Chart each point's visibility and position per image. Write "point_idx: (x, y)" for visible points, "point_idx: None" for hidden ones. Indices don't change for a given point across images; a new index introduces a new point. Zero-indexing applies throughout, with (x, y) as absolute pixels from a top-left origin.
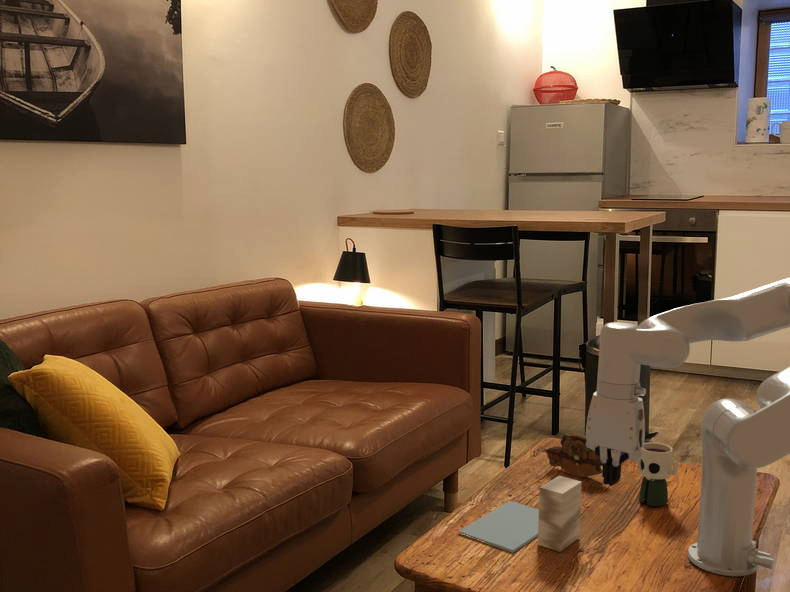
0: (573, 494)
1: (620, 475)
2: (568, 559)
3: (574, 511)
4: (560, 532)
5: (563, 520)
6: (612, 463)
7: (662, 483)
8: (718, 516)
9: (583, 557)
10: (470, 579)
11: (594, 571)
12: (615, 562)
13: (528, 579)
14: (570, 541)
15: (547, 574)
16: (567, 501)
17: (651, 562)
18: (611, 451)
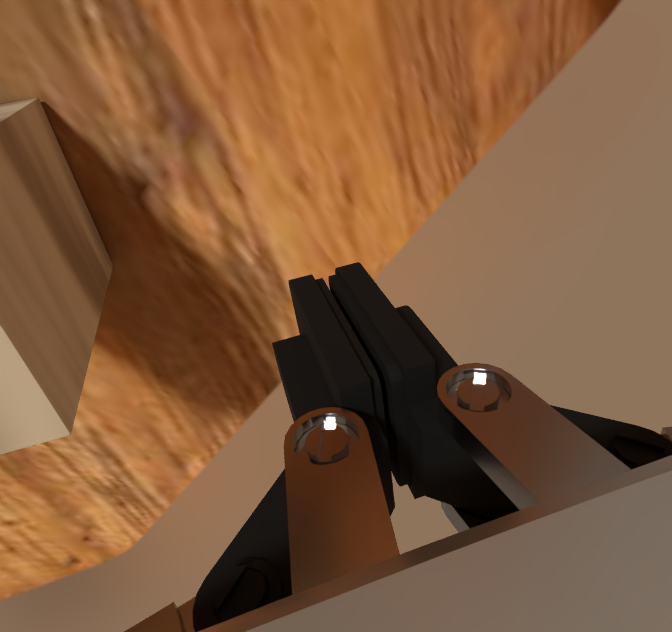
0: (8, 280)
1: (418, 318)
2: (170, 274)
3: (28, 209)
4: (101, 306)
5: (88, 316)
6: (442, 503)
7: None
8: None
9: (190, 221)
10: (112, 532)
11: (283, 266)
12: (289, 157)
13: (197, 434)
14: (75, 190)
15: (207, 383)
16: (54, 337)
17: (381, 39)
18: (385, 511)
